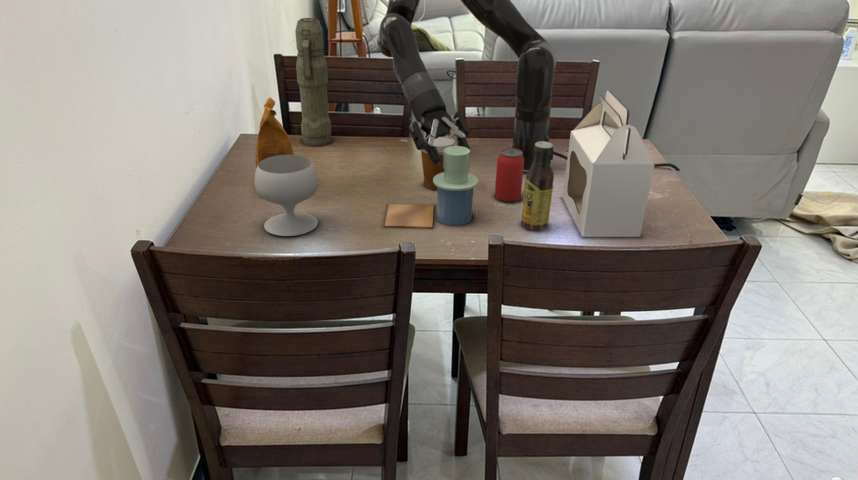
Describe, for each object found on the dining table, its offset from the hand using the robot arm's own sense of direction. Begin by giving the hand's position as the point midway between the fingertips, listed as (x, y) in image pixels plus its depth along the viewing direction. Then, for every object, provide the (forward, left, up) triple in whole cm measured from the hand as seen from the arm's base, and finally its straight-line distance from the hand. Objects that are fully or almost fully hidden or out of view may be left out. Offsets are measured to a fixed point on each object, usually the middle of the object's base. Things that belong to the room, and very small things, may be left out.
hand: (453, 159), depth 152 cm
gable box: (-35, -2, -14) cm, 38 cm away
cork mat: (+10, +1, -14) cm, 17 cm away
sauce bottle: (-19, +4, -14) cm, 24 cm away
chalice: (+37, +7, -14) cm, 40 cm away
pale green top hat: (-1, +1, -7) cm, 7 cm away
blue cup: (-1, +1, -14) cm, 14 cm away
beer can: (-14, -12, -14) cm, 23 cm away
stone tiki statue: (+41, -51, -14) cm, 67 cm away
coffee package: (+45, -15, -14) cm, 49 cm away
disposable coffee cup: (+4, -19, -14) cm, 24 cm away
